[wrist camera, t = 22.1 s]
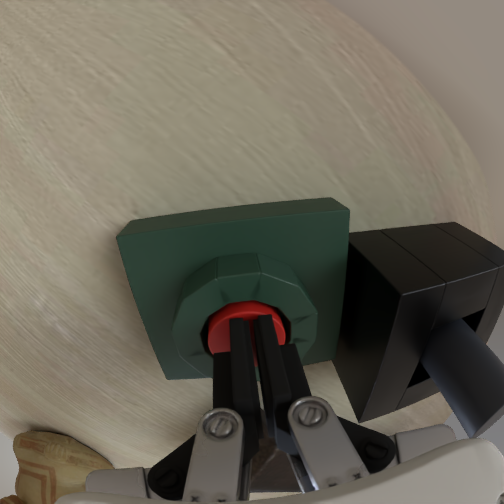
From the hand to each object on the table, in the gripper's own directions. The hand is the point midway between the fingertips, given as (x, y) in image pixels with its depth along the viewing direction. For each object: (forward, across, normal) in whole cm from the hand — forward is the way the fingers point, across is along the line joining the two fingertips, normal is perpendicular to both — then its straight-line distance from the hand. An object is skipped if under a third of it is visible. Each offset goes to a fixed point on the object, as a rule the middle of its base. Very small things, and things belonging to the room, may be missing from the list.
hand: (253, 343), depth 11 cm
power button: (+2, 0, 0) cm, 2 cm away
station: (+4, 0, 0) cm, 4 cm away
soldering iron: (+4, -10, +2) cm, 11 cm away
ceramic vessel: (+4, +27, +25) cm, 37 cm away
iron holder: (+4, -10, +2) cm, 11 cm away
